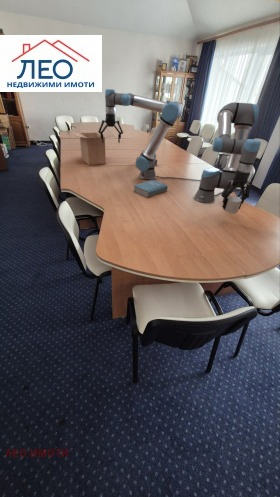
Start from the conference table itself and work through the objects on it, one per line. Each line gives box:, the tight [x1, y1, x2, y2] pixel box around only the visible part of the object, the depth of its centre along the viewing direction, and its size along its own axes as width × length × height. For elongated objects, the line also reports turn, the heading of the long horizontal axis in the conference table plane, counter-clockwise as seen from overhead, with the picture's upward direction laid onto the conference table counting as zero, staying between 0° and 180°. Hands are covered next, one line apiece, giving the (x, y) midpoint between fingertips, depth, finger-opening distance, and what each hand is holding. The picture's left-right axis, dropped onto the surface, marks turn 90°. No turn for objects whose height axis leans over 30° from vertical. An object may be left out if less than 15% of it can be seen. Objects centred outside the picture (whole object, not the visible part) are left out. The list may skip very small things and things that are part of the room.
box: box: [70, 129, 114, 166], centre depth 229 cm, size 44×36×27 cm
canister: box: [222, 195, 242, 214], centre depth 133 cm, size 9×9×8 cm
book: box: [133, 179, 169, 198], centre depth 177 cm, size 23×16×5 cm
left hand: (110, 142), depth 186 cm, fingers open, 13 cm apart
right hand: (230, 208), depth 135 cm, fingers closed on canister, 9 cm apart
